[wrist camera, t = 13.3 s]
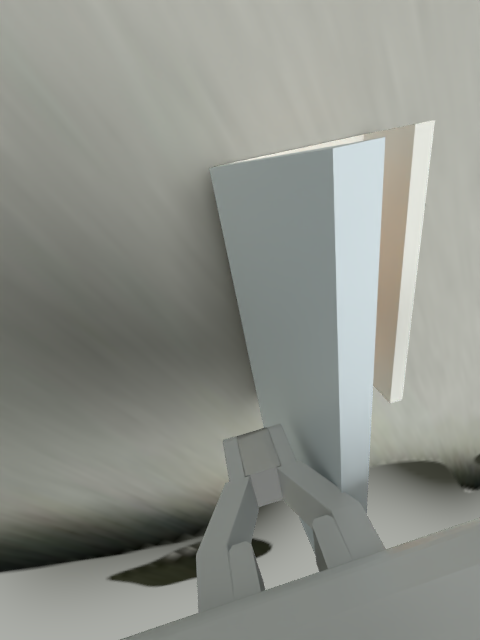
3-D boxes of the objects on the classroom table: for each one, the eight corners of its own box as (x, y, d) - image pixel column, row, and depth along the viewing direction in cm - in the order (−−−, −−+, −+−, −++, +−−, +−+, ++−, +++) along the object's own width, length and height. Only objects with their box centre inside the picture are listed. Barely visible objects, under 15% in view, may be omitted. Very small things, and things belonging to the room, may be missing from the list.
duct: (260, 392, 26) (277, 437, 21) (214, 166, 17) (227, 164, 13) (364, 362, 26) (402, 399, 22) (371, 132, 18) (434, 119, 14)
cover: (276, 437, 21) (266, 441, 21) (226, 164, 13) (209, 168, 13) (361, 617, 13) (344, 625, 12) (385, 137, 4) (332, 148, 4)
